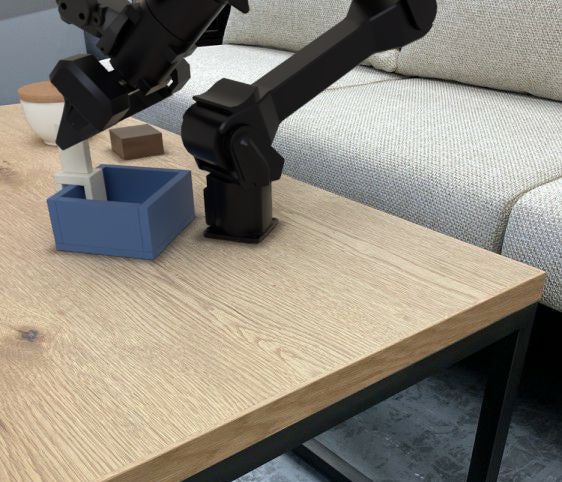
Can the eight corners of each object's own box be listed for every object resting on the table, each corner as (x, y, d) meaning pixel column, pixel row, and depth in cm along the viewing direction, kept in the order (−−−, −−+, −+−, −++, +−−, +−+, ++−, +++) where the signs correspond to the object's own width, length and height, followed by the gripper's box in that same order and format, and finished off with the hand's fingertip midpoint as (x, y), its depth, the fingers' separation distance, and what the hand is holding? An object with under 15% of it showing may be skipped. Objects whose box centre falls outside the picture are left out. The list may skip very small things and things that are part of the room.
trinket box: (26, 135, 111) (12, 72, 106) (94, 128, 114) (84, 66, 109) (31, 153, 102) (16, 85, 97) (104, 145, 105) (94, 79, 100)
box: (195, 217, 81) (191, 169, 77) (153, 260, 71) (147, 207, 68) (108, 209, 83) (101, 163, 80) (56, 250, 73) (45, 199, 70)
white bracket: (108, 208, 78) (94, 120, 72) (96, 218, 75) (80, 127, 70) (74, 205, 79) (58, 118, 73) (61, 215, 76) (43, 125, 71)
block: (164, 153, 102) (162, 132, 100) (124, 160, 99) (121, 138, 97) (150, 143, 106) (147, 123, 104) (111, 149, 104) (108, 129, 102)
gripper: (151, -60, 69) (72, 57, 78) (48, -51, 54) (-36, 92, 63) (230, 31, 72) (144, 134, 80) (152, 63, 57) (57, 185, 66)
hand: (83, 134), depth 72 cm, fingers open, 9 cm apart
